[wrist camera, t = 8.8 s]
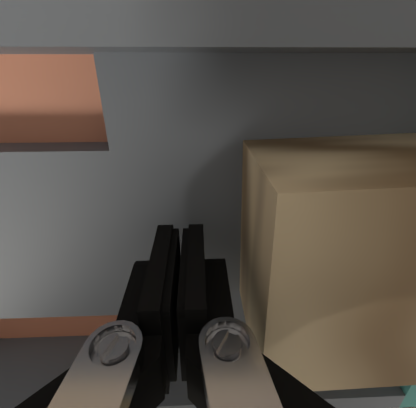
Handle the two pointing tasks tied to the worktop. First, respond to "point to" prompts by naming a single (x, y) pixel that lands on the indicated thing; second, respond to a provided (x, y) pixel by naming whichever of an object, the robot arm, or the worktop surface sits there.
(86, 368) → the robot arm
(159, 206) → the box
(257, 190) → the maple block
